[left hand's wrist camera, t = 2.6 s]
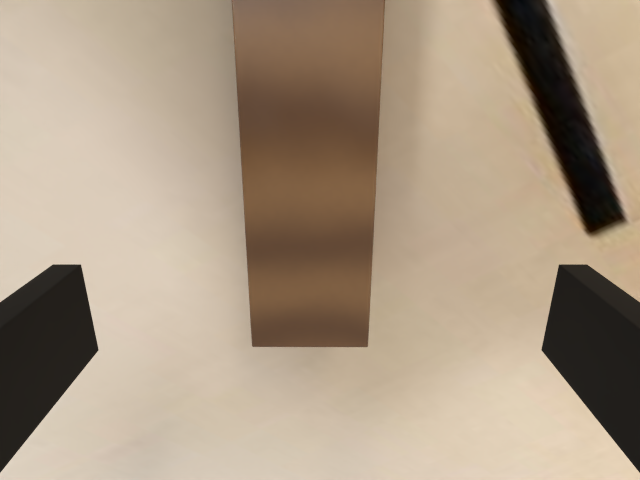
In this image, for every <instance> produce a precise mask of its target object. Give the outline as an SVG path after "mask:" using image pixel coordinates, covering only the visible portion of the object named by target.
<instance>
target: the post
mask: <svg viewBox="0 0 640 480" xmlns="http://www.w3.org/2000/svg"><path fill="white" fill-rule="evenodd" d="M384 9H385V0H232V10H233V27H234V44H235V61H236V79H237V96H238V113H239V130H240V147H241V164H242V181H243V198H244V215H245V233H246V250H247V267H248V284H249V301H250V318H251V335H252V346H253V347H368V334H369V314H370V293H371V273H372V253H373V232H374V212H375V192H376V172H377V151H378V131H379V111H380V90H381V70H382V50H383V29H384Z"/></svg>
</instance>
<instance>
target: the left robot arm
mask: <svg viewBox="0 0 640 480" xmlns="http://www.w3.org/2000/svg"><path fill="white" fill-rule="evenodd" d="M97 351H98V346H97V341H96V336H95V331H94V326H93V321H92V316H91V311H90V307H89V302H88V297H87V292H86V287H85V282H84V277H83V272H82V268H81V265H52V266H50V267H49V268H48V269H46V270H45V271H43V272H42V273H41V274H39V275H38V276H36V277H35V278H34V279H32V280H31V281H30V282H28V283H27V284H25V285H24V286H23V287H21V288H20V289H18V290H17V291H16V292H14V293H13V294H11V295H10V296H9V297H7V298H6V299H4V300H3V301H2V302H0V472H1V471H2V470H3V469H4V467H5V466H6V465H7V464H8V462H9V461H10V460H11V459H12V457H13V456H14V455H15V454H16V452H17V451H18V450H19V449H20V447H21V446H22V445H23V444H24V442H25V441H26V440H27V439H28V437H29V436H30V435H31V434H32V432H33V431H34V430H35V429H36V427H37V426H38V425H39V424H40V422H41V421H42V420H43V419H44V417H45V416H46V415H47V414H48V412H49V411H50V410H51V409H52V407H53V406H54V405H55V404H56V402H57V401H58V400H59V399H60V397H61V396H62V395H63V394H64V392H65V391H66V390H67V389H68V387H69V386H70V385H71V384H72V382H73V381H74V380H75V379H76V377H77V376H78V375H79V374H80V372H81V371H82V370H83V369H84V367H85V366H86V365H87V364H88V362H89V361H90V360H91V359H92V357H93V356H94V355H95V354H96V352H97ZM542 351H543V352H544V354H545V355H546V356H547V357H548V359H549V360H550V361H551V362H552V364H553V365H554V366H555V367H556V369H557V370H558V371H559V372H560V374H561V375H562V376H563V377H564V379H565V380H566V381H567V382H568V384H569V385H570V386H571V387H572V389H573V390H574V391H575V392H576V394H577V395H578V396H579V397H580V399H581V400H582V401H583V402H584V404H585V405H586V406H587V407H588V409H589V410H590V411H591V412H592V414H593V415H594V416H595V417H596V419H597V420H598V421H599V422H600V424H601V425H602V426H603V427H604V429H605V430H606V431H607V432H608V434H609V435H610V436H611V437H612V439H613V440H614V441H615V442H616V444H617V445H618V446H619V447H620V449H621V450H622V451H623V452H624V454H625V455H626V456H627V457H628V459H629V460H630V461H631V462H632V464H633V465H634V466H635V467H636V469H637V470H638V471H639V472H640V302H638V301H637V300H636V299H634V298H633V297H631V296H630V295H629V294H627V293H626V292H624V291H623V290H622V289H620V288H619V287H617V286H616V285H615V284H613V283H612V282H610V281H609V280H608V279H606V278H605V277H604V276H602V275H601V274H599V273H598V272H597V271H595V270H594V269H592V268H591V267H590V266H588V265H559V268H558V272H557V277H556V282H555V287H554V292H553V297H552V302H551V307H550V311H549V316H548V321H547V326H546V331H545V336H544V341H543V346H542Z"/></svg>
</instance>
